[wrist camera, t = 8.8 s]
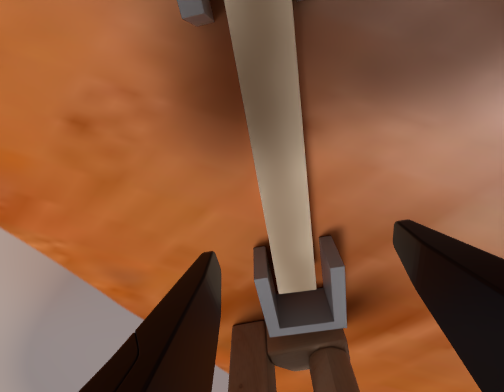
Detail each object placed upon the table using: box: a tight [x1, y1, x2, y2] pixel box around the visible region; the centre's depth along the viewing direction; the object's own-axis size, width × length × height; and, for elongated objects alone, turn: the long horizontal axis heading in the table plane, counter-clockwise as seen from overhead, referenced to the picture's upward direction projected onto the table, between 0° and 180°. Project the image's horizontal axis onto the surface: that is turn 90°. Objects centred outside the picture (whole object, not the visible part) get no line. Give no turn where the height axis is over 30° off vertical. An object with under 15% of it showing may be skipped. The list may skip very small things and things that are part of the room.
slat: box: [224, 0, 316, 294], centre depth 17 cm, size 3×22×3 cm, turn 10°
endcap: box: [254, 236, 347, 337], centre depth 22 cm, size 6×7×4 cm
